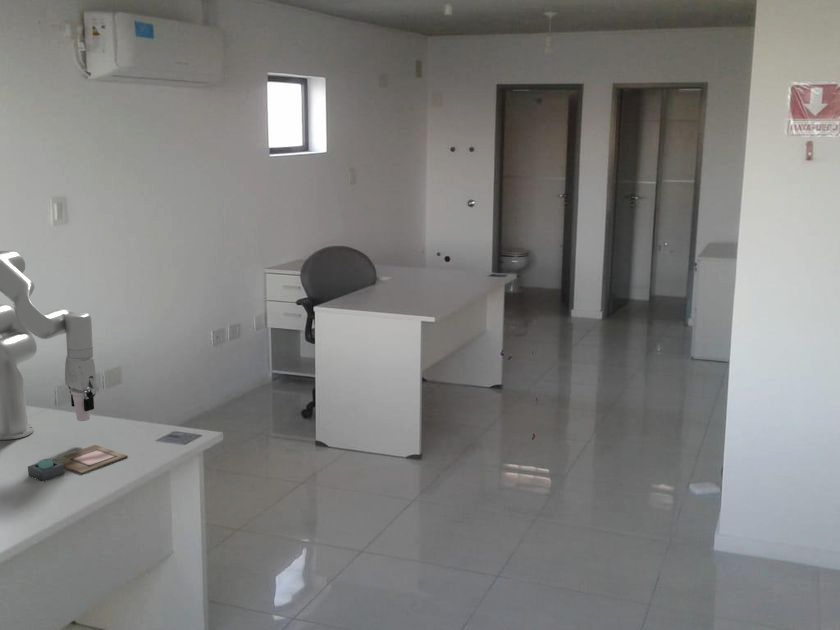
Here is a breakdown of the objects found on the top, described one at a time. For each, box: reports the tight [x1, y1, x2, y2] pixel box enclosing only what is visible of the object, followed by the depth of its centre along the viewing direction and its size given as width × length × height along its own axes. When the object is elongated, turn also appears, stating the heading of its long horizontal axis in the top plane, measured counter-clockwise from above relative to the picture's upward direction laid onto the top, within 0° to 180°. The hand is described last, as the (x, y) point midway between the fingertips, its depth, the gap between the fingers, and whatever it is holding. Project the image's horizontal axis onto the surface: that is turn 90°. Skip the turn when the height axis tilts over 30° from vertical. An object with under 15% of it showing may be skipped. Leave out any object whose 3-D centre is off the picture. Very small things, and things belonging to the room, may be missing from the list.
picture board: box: [51, 444, 129, 475], centre depth 279 cm, size 16×16×1 cm
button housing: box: [27, 458, 66, 482], centre depth 268 cm, size 7×7×3 cm
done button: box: [37, 458, 53, 470], centre depth 268 cm, size 4×4×3 cm
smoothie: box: [70, 387, 91, 422], centre depth 292 cm, size 6×6×14 cm
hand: (82, 407), depth 293 cm, fingers closed on smoothie, 5 cm apart
